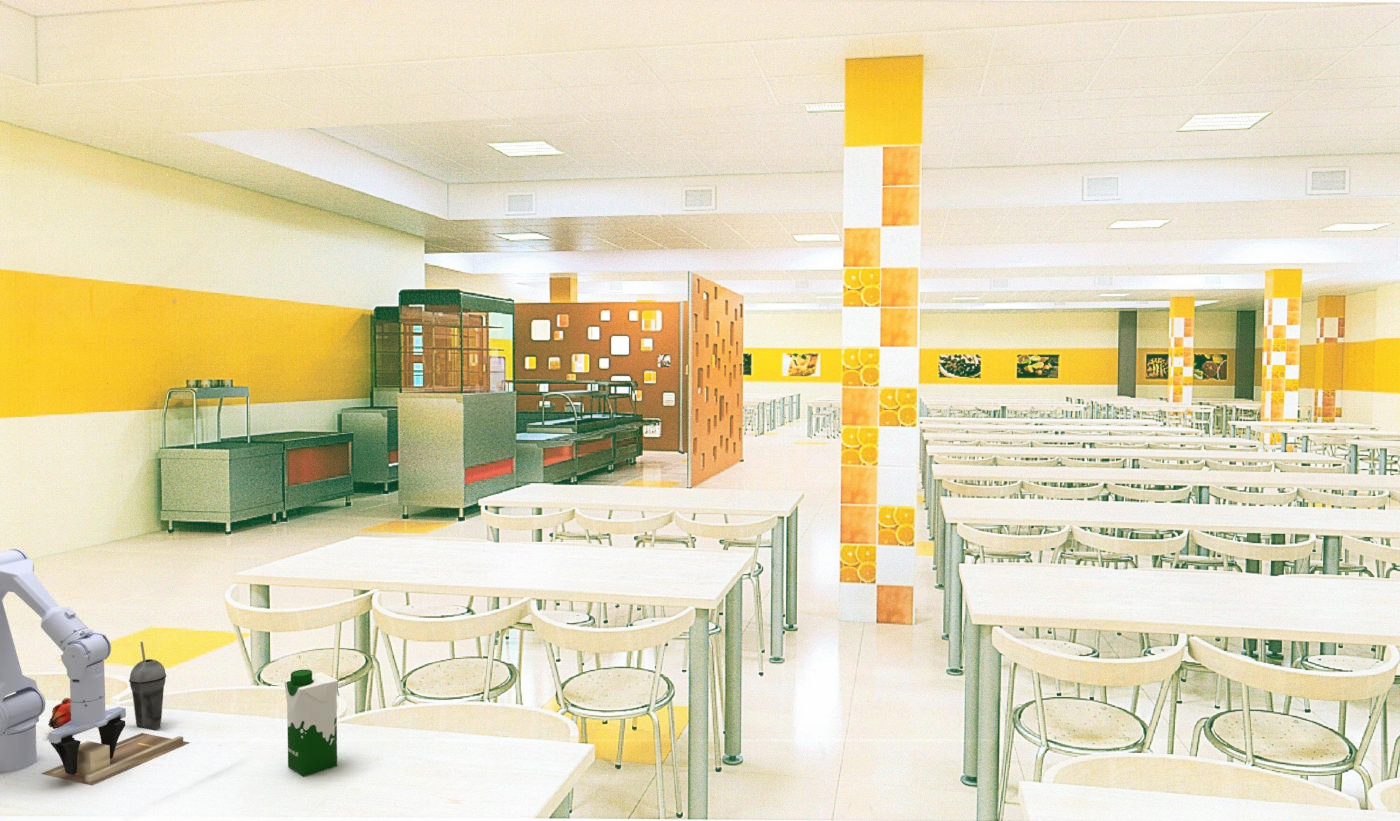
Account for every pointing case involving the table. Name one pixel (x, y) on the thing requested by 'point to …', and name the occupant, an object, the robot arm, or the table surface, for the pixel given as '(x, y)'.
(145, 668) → the beverage cup
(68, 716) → the dragon fruit
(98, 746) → the block
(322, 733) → the milk carton
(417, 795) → the table surface
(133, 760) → the walnut board
